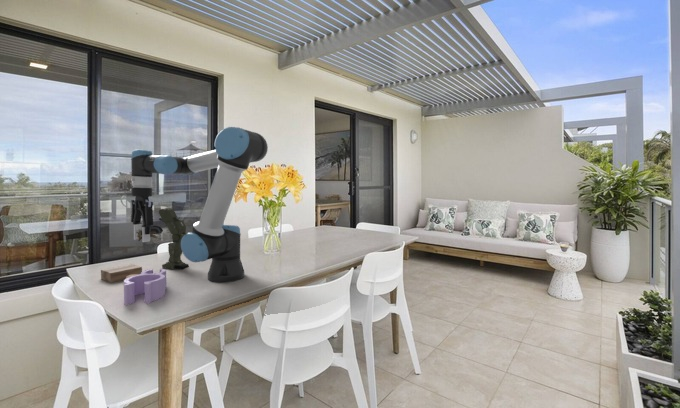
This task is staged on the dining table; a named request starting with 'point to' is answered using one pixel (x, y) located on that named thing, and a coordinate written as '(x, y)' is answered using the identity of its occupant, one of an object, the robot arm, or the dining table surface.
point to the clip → (145, 286)
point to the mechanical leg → (174, 238)
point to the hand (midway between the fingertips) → (141, 240)
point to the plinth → (119, 272)
